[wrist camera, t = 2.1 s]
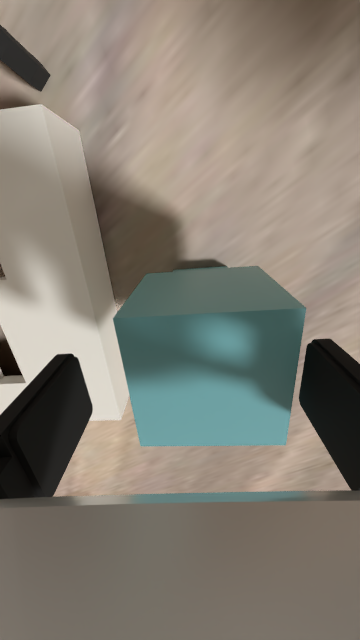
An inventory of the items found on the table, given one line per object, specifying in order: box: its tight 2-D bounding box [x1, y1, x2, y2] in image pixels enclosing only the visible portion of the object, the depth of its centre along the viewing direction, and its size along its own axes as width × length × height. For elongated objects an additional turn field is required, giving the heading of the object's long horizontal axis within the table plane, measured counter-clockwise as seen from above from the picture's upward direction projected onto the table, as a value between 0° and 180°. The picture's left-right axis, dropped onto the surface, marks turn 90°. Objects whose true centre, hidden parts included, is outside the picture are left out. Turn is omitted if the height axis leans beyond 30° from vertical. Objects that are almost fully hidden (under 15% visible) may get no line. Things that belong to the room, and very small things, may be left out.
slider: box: [113, 266, 306, 446], centre depth 14 cm, size 6×6×11 cm
